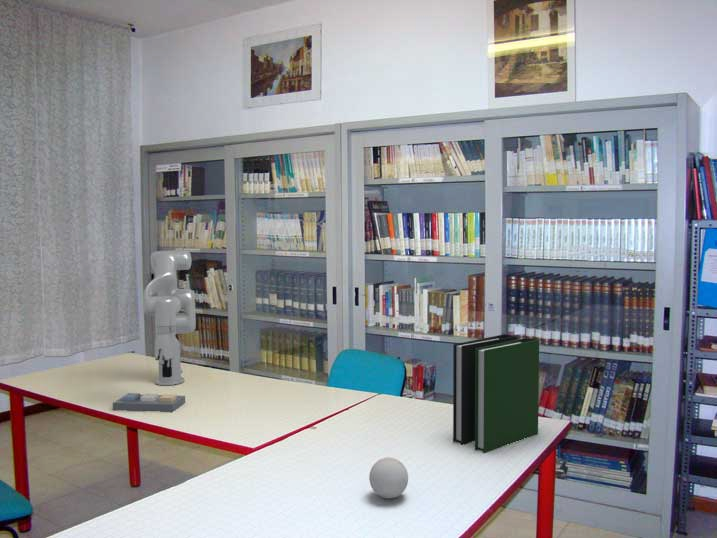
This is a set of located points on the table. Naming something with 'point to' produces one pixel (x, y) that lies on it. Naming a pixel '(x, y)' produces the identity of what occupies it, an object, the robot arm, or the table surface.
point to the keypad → (149, 405)
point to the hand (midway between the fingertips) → (167, 376)
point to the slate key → (131, 397)
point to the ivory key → (149, 397)
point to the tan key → (168, 398)
